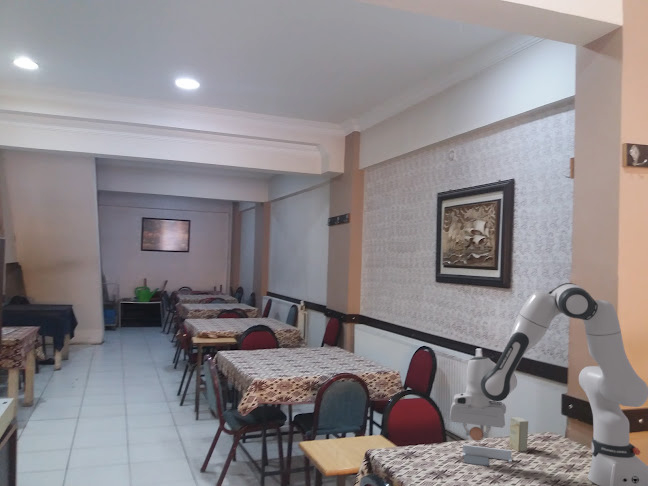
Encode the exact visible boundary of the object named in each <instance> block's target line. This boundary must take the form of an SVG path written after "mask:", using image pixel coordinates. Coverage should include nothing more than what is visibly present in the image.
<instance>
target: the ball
mask: <svg viewBox="0 0 648 486" xmlns="http://www.w3.org/2000/svg"><path fill="white" fill-rule="evenodd" d="M469 430H470V438H471V439H472V440H473V441H476V442H478V441H481V440H482V439H483V438H484V437H483V432H484V431H483V430H482V428H480V427H478V426H473V427H471V428H470V429H469Z"/></svg>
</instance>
